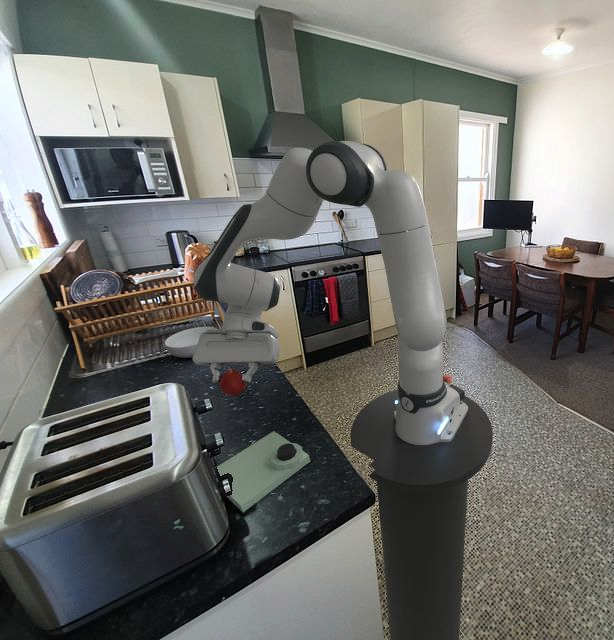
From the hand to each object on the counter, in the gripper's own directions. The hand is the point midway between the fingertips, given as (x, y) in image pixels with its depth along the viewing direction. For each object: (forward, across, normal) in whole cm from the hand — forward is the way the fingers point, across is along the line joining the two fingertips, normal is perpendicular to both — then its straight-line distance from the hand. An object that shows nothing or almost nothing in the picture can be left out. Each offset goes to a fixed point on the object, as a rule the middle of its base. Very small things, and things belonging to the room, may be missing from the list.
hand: (231, 382), depth 85 cm
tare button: (+17, +16, -1) cm, 23 cm away
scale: (+20, +10, 0) cm, 22 cm away
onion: (+3, 0, +4) cm, 5 cm away
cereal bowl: (-20, -37, +40) cm, 58 cm away
